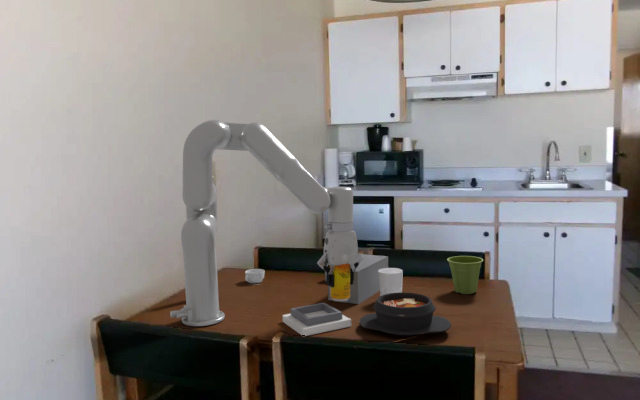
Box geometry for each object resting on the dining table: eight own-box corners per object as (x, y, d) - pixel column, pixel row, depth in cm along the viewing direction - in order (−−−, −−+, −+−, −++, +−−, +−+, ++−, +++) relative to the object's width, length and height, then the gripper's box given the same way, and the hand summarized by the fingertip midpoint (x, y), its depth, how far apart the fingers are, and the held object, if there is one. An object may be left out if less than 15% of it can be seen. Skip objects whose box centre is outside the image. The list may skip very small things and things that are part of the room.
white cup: (374, 301, 169) (373, 271, 168) (387, 295, 174) (386, 266, 174) (394, 305, 163) (394, 274, 162) (407, 299, 169) (407, 269, 168)
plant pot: (469, 285, 184) (469, 254, 183) (490, 294, 173) (490, 261, 172) (440, 289, 181) (440, 257, 179) (460, 298, 169) (460, 264, 168)
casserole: (353, 338, 136) (353, 307, 136) (364, 316, 154) (363, 288, 154) (451, 344, 131) (451, 312, 130) (450, 320, 149) (450, 291, 148)
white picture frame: (303, 336, 139) (302, 322, 139) (282, 321, 151) (282, 308, 151) (351, 326, 146) (351, 312, 145) (327, 312, 158) (327, 300, 158)
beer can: (348, 302, 157) (348, 253, 155) (328, 301, 158) (328, 252, 157) (351, 297, 163) (351, 249, 161) (332, 295, 164) (332, 249, 162)
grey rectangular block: (332, 279, 199) (331, 251, 198) (388, 285, 188) (388, 256, 187) (297, 296, 178) (296, 265, 177) (358, 304, 166) (357, 271, 165)
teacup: (254, 278, 204) (254, 267, 204) (273, 281, 198) (273, 269, 198) (236, 284, 196) (236, 272, 196) (256, 288, 190) (255, 275, 190)
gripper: (321, 231, 151) (321, 291, 153) (371, 227, 159) (370, 284, 161) (309, 227, 158) (309, 285, 159) (358, 223, 165) (357, 279, 167)
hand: (340, 284), depth 160 cm, fingers closed on beer can, 6 cm apart
